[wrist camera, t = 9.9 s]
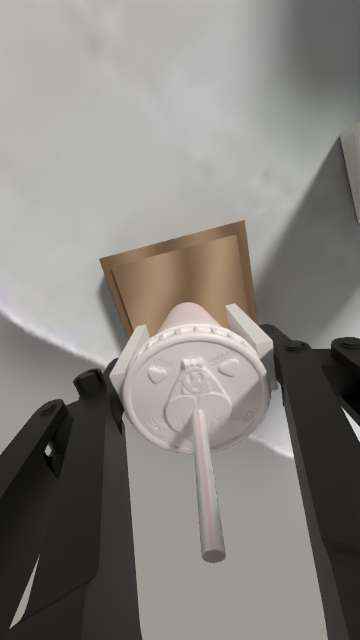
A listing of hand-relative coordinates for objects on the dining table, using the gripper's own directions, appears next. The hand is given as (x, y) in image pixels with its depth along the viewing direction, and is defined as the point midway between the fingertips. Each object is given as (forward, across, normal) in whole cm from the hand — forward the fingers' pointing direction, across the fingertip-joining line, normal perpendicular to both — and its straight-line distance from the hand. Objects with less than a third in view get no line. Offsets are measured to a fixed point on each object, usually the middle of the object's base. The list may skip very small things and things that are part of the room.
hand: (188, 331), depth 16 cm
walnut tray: (+9, 0, 0) cm, 9 cm away
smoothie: (+2, 0, 0) cm, 2 cm away
